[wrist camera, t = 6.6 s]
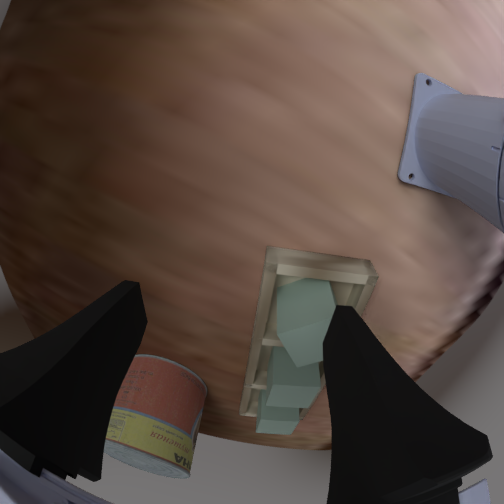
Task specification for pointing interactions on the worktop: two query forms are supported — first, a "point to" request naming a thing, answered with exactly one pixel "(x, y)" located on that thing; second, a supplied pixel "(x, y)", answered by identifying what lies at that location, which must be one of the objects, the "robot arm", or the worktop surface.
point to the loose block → (304, 318)
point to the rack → (265, 326)
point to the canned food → (156, 417)
